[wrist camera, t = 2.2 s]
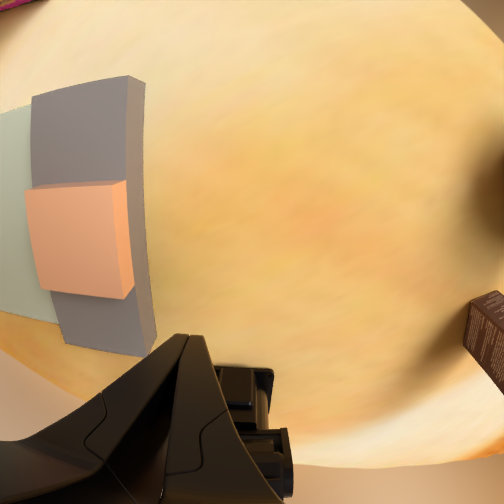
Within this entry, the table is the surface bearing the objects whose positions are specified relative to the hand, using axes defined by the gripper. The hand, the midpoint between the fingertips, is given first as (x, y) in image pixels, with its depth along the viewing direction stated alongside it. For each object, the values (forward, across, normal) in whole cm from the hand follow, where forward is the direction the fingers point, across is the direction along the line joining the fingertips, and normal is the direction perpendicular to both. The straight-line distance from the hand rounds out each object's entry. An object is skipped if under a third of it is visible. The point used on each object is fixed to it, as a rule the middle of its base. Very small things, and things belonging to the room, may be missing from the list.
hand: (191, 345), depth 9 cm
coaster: (+10, +10, 0) cm, 14 cm away
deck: (+13, +10, 0) cm, 16 cm away
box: (+13, -26, +8) cm, 30 cm away
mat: (+13, +20, 0) cm, 24 cm away
